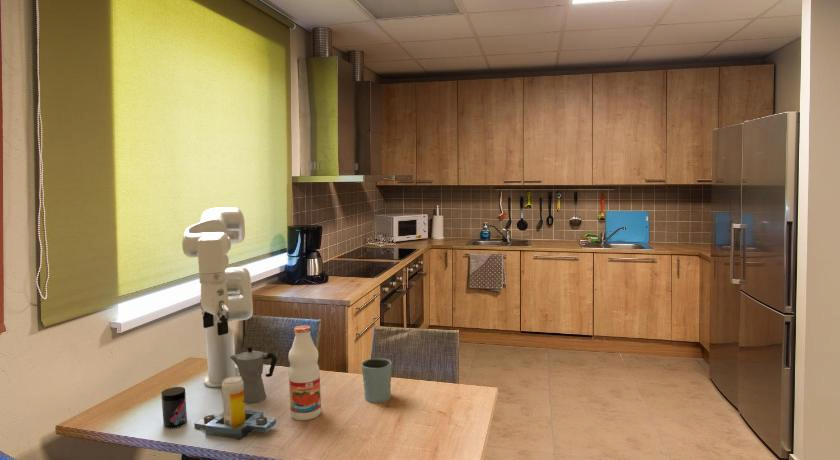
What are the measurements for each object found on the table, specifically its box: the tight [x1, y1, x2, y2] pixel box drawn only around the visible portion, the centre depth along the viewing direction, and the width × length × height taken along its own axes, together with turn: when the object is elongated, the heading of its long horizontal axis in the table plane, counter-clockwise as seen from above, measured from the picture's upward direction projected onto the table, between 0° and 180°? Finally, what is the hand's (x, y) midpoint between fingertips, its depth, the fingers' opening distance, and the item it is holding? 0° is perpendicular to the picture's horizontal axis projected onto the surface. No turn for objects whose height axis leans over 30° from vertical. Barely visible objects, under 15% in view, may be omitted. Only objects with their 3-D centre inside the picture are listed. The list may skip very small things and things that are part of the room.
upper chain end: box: [204, 409, 277, 435], centre depth 168 cm, size 18×12×2 cm, turn 74°
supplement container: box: [160, 386, 188, 429], centre depth 173 cm, size 7×7×10 cm
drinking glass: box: [361, 357, 393, 404], centre depth 190 cm, size 10×10×12 cm
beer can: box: [221, 376, 246, 426], centre depth 169 cm, size 6×6×15 cm
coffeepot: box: [230, 346, 278, 405], centre depth 190 cm, size 15×9×18 cm, turn 92°
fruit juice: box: [288, 324, 322, 421], centre depth 177 cm, size 9×9×28 cm
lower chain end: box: [193, 414, 253, 441], centre depth 170 cm, size 18×12×2 cm, turn 74°
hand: (215, 330), depth 177 cm, fingers open, 9 cm apart
